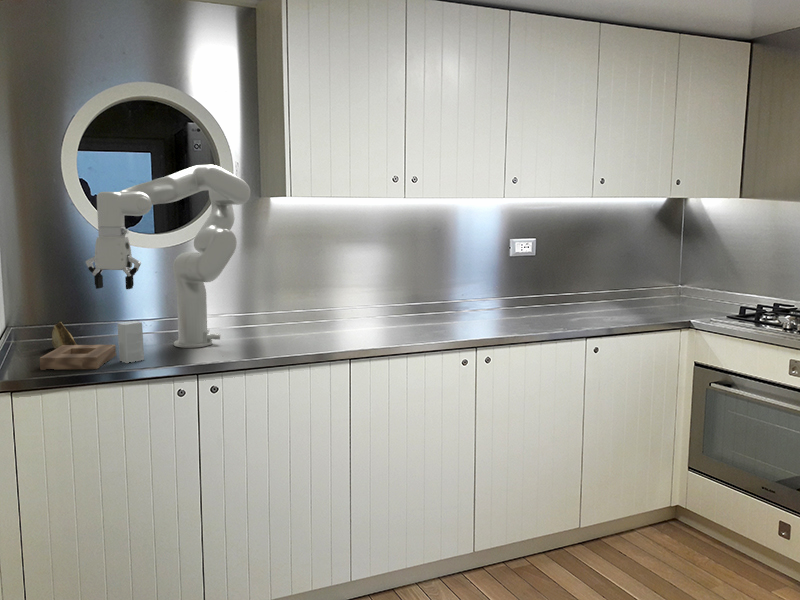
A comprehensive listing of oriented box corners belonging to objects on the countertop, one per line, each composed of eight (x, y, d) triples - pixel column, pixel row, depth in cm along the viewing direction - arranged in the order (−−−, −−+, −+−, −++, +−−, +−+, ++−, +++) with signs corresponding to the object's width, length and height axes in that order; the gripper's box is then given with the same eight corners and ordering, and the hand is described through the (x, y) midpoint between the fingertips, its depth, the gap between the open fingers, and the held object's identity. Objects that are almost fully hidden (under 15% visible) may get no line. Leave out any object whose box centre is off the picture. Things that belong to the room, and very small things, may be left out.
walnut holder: (115, 355, 225) (115, 344, 224) (97, 368, 207) (96, 357, 207) (63, 356, 223) (62, 345, 223) (40, 369, 206) (39, 357, 205)
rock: (43, 341, 235) (41, 342, 226) (59, 319, 237) (58, 320, 227) (73, 358, 238) (72, 361, 229) (89, 337, 240) (88, 339, 231)
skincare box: (137, 358, 221) (135, 320, 220) (144, 360, 219) (142, 322, 217) (118, 361, 217) (116, 323, 215) (126, 363, 214) (124, 324, 212)
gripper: (144, 232, 218) (146, 287, 221) (91, 231, 220) (94, 286, 222) (133, 233, 211) (135, 290, 213) (78, 232, 213) (81, 289, 215)
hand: (114, 288), depth 218 cm, fingers open, 9 cm apart
